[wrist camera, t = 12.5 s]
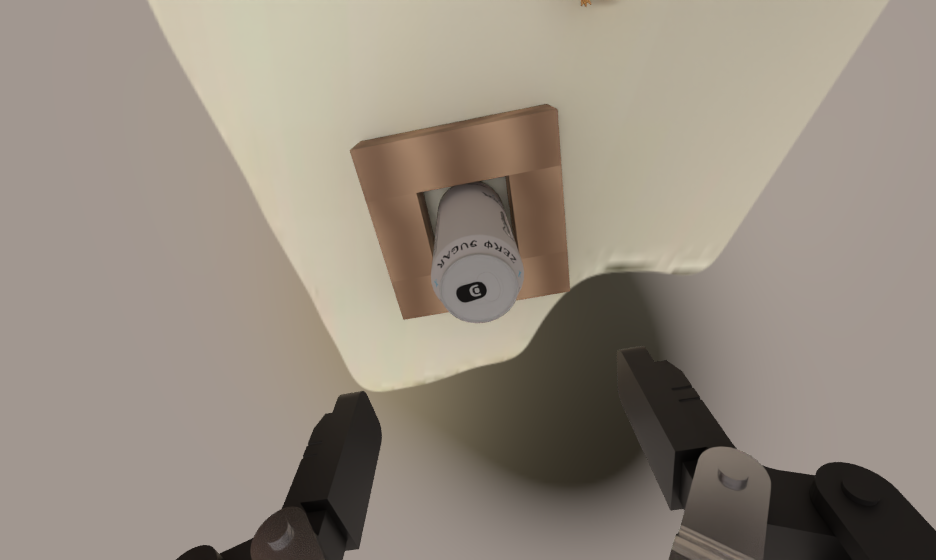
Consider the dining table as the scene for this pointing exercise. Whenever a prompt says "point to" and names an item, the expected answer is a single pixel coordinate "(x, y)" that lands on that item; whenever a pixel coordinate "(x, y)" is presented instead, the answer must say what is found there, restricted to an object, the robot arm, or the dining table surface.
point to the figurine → (585, 2)
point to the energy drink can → (475, 255)
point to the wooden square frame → (459, 162)
